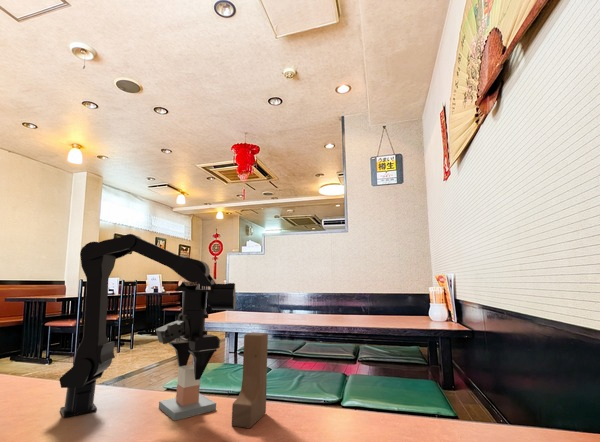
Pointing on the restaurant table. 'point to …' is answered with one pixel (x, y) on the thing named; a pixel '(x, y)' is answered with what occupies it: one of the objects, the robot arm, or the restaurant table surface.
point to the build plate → (186, 408)
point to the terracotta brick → (187, 395)
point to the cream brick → (187, 376)
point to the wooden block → (252, 382)
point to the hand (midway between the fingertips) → (189, 375)
